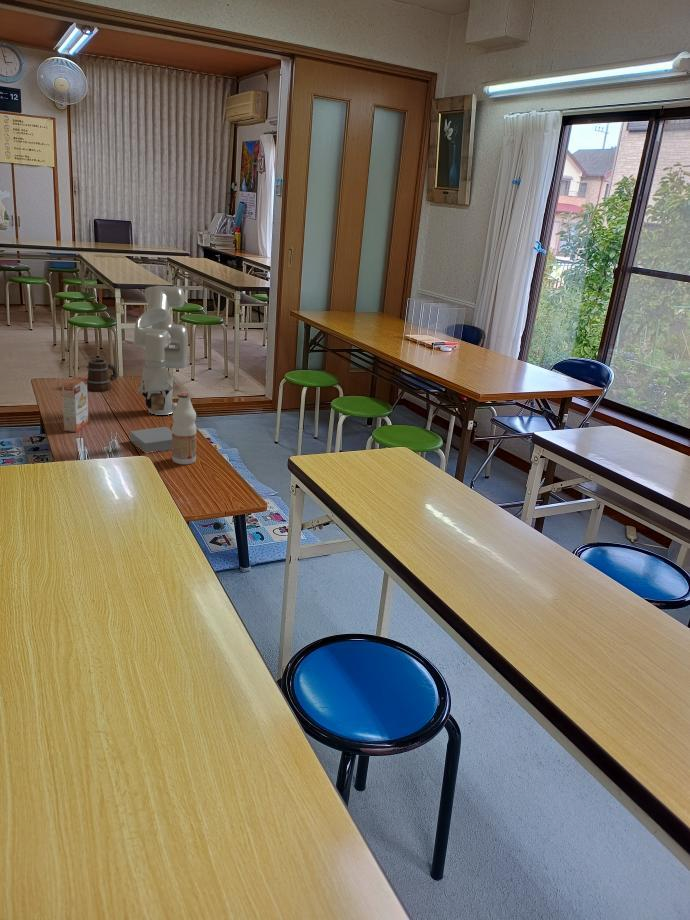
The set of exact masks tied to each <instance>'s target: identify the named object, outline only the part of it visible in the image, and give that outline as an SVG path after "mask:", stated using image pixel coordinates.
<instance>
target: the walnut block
mask: <svg viewBox="0 0 690 920" xmlns="http://www.w3.org/2000/svg"><path fill="white" fill-rule="evenodd" d="M150 399H151V408H148V407H147V406H146V407H147V409H148V410H149V409H150V410H151V411H158V410H164V396H163V395H162V394H160V393H152V392H151V395H150Z"/></svg>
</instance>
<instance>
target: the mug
mask: <svg viewBox="0 0 690 920" xmlns="http://www.w3.org/2000/svg"><path fill="white" fill-rule="evenodd" d="M86 369H87V377H86V378H87V392H88V391H89V392H94V393H103V392H108V391H110V390H111V388H112V387H111V383H110V382H111V381H112V382H114V381H115V380H117V378H118V374H117V367H116V366H115V365H114V364H113V363H112V364H111V363H109V364H107V362H106V360H105V359H100V358H97V359H96V358H94V359H90V360H89V362H88V365H87V366H86ZM108 370H111V372H112V375H111V376H109V372H108Z"/></svg>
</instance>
